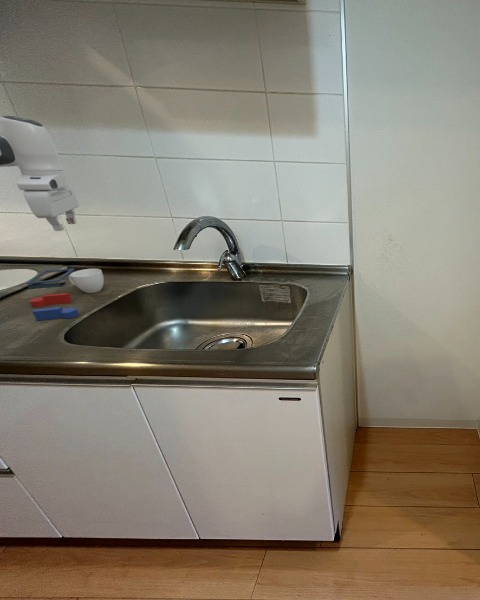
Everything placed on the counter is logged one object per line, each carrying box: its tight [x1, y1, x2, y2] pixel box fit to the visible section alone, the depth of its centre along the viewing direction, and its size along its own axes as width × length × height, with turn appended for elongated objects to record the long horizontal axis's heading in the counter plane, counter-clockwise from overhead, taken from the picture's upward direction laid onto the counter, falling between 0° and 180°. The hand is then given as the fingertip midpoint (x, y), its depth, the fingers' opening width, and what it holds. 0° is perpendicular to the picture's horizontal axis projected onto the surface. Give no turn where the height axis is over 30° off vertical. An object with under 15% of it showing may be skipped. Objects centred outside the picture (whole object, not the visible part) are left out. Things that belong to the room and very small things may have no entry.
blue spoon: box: [32, 306, 80, 322], centre depth 90 cm, size 9×3×3 cm, turn 115°
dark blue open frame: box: [25, 268, 75, 290], centre depth 110 cm, size 12×8×2 cm
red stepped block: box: [29, 292, 73, 308], centre depth 96 cm, size 9×3×3 cm, turn 115°
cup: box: [68, 268, 105, 294], centre depth 105 cm, size 8×10×7 cm
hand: (66, 226), depth 97 cm, fingers open, 8 cm apart
